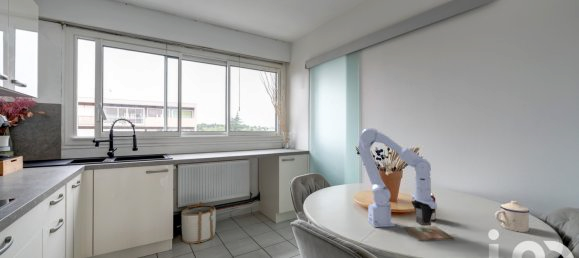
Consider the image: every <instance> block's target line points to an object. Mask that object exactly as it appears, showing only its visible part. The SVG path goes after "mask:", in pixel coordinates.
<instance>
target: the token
mask: <svg viewBox="0 0 579 258" xmlns="http://www.w3.org/2000/svg"><path fill="white" fill-rule="evenodd" d="M415 222H416V224H418V225H420V226H432V221H431V219H430V223H425V222H424V220H423V213H422V210H421V208H416V211H415Z"/></svg>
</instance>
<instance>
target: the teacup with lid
mask: <svg viewBox="0 0 579 258" xmlns="http://www.w3.org/2000/svg"><path fill="white" fill-rule="evenodd" d="M529 213H530V209H529V208H527V207H526V206H523V205H521V204H520V203H518V201H516V200H511V201H510V202H508V203H502V204H500V210H497V211H496V212H495V214H494V216H495V219H496V220H497V221H498V222H500V223H501V224H500V226H502V227H503V228H504V229H506V230H510V231H513V232H517V231H518V232H517V233H527V232H529V230H530V227H529V226H530V225H529V224H530V222H529ZM500 214H501V215H500ZM499 215H500V217H499Z"/></svg>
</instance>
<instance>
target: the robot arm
mask: <svg viewBox="0 0 579 258" xmlns="http://www.w3.org/2000/svg"><path fill="white" fill-rule="evenodd" d="M374 143H377V144H378V143H380V144H384V145H385V146H386V147H387V148H389V149H391V150H392V151H393V152H395V153H397V154H398V158H399V159H400V160H401V161H403V162H404V163H406V164H407V165H408V166H409V167H411V168H414V171H415V177H414V179H415V180H414V181H415V183H414V184H415V186H414V187H415V188H414V189H415V193H411V194H410V199H412V200H411V204H412V205H413V209H414V210H415V212H416V208H421V210H422V213H423V220H424V222H425V223H430V219H431V216H432V214H433V212H434V210H435V211H436V209H438V204H437V202H436V201H435V202H434V201H433V199H432V198H431V193H432V189H431V188H432V185H431V184H432V182H431V181H432V178H431V171H432V168H431V163H430V162H429V161H428V159H426V158H424V157H423V156H422V155H421V156H420V155H419V154H417V153H416V152H415V151H414V150H413V148H409V147H402V146H401V145H400V144H398V143H397V142H395V141H394V140H393V139H392V138H391V137H389V136H387V135H386V134H385V133H383V132H382V131H378V129H376V128H368V127H367V128H364V129H363V130H362V132H361V133H360V135H359V142H358V148H357V149H358V150H357V151H358V153H359V155H360V158H361V160H362V163H363V166H364V168H365V171H366V173H367V175H368V178H369V181H370V184H371V191H372V193H373V194H372V195H373V196H372V197H373V198H372V199H373V203H372V204H371V203H370V204H368V207H367V211H368V212H367V215H368V216H367V217H368V218H367V221H368V222H369V223H370V224H371V226H373V227H374V228H380V227H382V228H384V227H388V228H389V227H396V225H395V224H394V223H393V222H392V203H391V202H390V199H391V198H392V192H391V191H390V189H389V188H387V185H386V183H384V181H383V179H382V177H381V175H380V172H379V168H378V167H377V164H376V161H375V159H374V156H373V154H372V152H371V148H372V147H373V144H374Z"/></svg>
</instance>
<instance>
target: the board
mask: <svg viewBox="0 0 579 258" xmlns="http://www.w3.org/2000/svg"><path fill="white" fill-rule="evenodd" d="M403 229H404V231H406V232H407V233H409V234H410V235H411V237H414V238H415V239H416V240H418V241H419V242H423V241H451V240H455V237H453V235H450V234H449V233H447V232H445V231H444V230H442V229H441V228H439V227H437V226H436V225H431V226H421V225H420V226H404V227H403Z"/></svg>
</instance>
